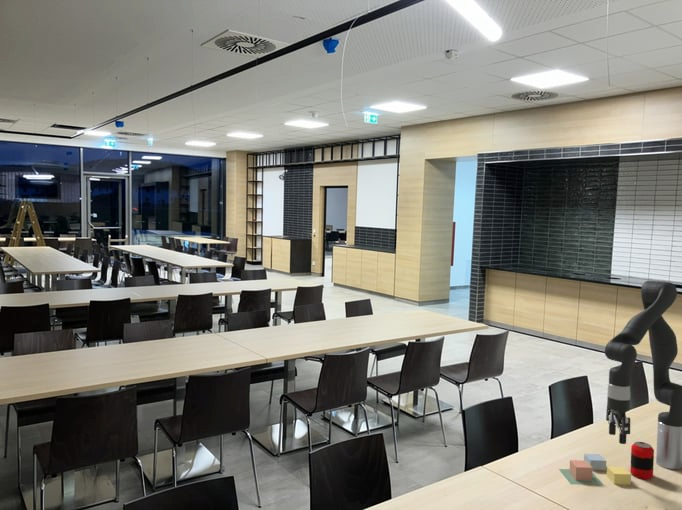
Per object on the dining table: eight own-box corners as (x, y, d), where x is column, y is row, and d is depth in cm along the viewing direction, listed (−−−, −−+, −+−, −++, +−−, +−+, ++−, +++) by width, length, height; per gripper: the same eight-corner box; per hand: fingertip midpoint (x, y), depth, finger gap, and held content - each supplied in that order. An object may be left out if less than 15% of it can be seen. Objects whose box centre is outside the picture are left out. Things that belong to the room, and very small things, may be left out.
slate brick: (599, 466, 211) (599, 454, 211) (605, 473, 205) (606, 460, 205) (583, 465, 211) (584, 453, 211) (590, 472, 205) (590, 460, 205)
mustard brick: (622, 479, 200) (623, 466, 199) (630, 487, 194) (631, 474, 193) (606, 479, 200) (606, 466, 200) (613, 487, 194) (614, 473, 194)
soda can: (650, 472, 206) (651, 442, 205) (655, 481, 198) (656, 450, 198) (628, 469, 208) (629, 439, 207) (632, 478, 201) (633, 447, 200)
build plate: (590, 472, 205) (590, 469, 205) (603, 487, 193) (604, 485, 193) (558, 471, 206) (558, 468, 206) (570, 486, 194) (570, 484, 194)
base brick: (585, 473, 202) (585, 460, 202) (592, 480, 196) (592, 467, 196) (569, 472, 203) (569, 460, 202) (575, 480, 197) (576, 467, 196)
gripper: (638, 402, 189) (637, 447, 189) (620, 390, 203) (618, 431, 204) (617, 402, 189) (615, 446, 190) (600, 389, 203) (598, 431, 204)
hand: (617, 438), depth 197 cm, fingers open, 8 cm apart
